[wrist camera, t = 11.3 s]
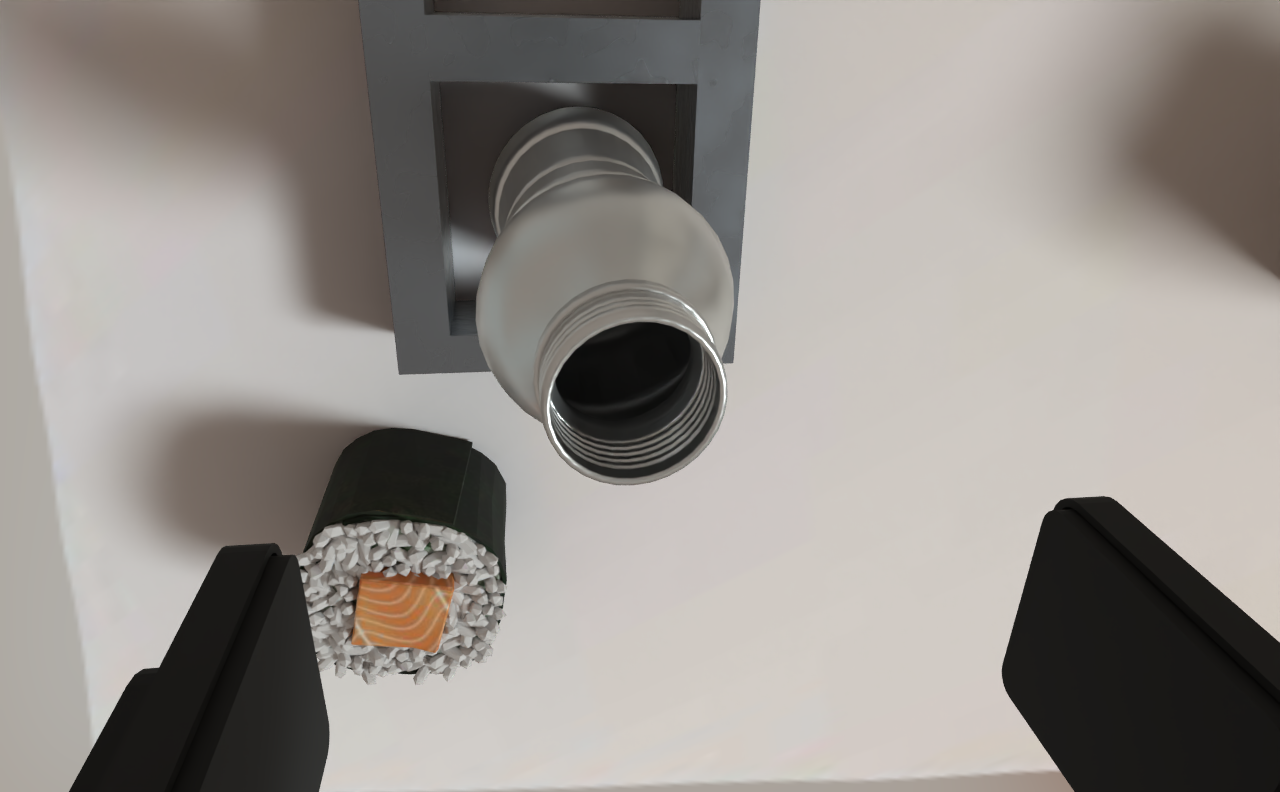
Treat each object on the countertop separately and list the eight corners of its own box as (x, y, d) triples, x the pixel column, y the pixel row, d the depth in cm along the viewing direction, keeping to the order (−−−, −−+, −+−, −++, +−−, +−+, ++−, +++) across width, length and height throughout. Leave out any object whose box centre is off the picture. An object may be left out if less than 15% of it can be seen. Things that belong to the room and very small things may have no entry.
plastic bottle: (684, 157, 34) (873, 342, 16) (593, 294, 36) (672, 593, 18) (547, 62, 32) (590, 156, 14) (458, 214, 34) (397, 464, 16)
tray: (339, -367, 26) (312, -424, 22) (753, -334, 28) (788, -383, 24) (410, 336, 36) (399, 374, 32) (711, 327, 38) (733, 363, 34)
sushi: (330, 416, 37) (287, 519, 30) (521, 444, 39) (523, 546, 32) (314, 567, 40) (273, 692, 33) (492, 586, 42) (488, 708, 35)
